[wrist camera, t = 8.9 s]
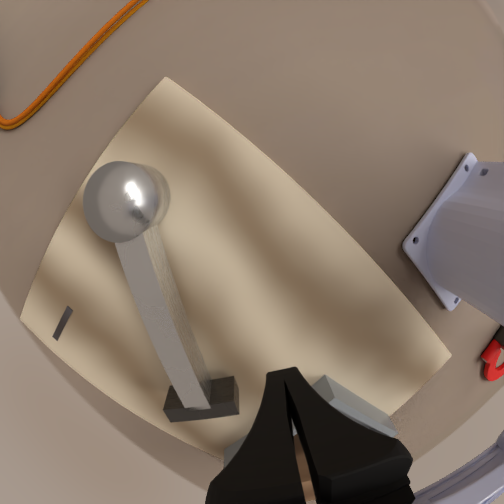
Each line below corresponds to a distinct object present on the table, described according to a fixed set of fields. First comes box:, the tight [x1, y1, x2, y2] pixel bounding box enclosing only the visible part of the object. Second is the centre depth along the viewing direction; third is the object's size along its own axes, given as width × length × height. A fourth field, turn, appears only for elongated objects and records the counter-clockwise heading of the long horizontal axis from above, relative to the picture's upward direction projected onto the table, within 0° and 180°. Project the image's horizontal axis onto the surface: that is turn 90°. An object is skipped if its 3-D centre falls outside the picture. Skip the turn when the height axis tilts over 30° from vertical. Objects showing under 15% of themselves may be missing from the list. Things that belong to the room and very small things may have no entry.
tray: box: [224, 375, 398, 468], centre depth 18 cm, size 11×9×2 cm
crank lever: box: [83, 161, 240, 422], centre depth 14 cm, size 15×4×3 cm, turn 14°
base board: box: [20, 76, 452, 460], centre depth 17 cm, size 20×29×1 cm
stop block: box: [294, 434, 315, 501], centre depth 16 cm, size 4×4×5 cm
